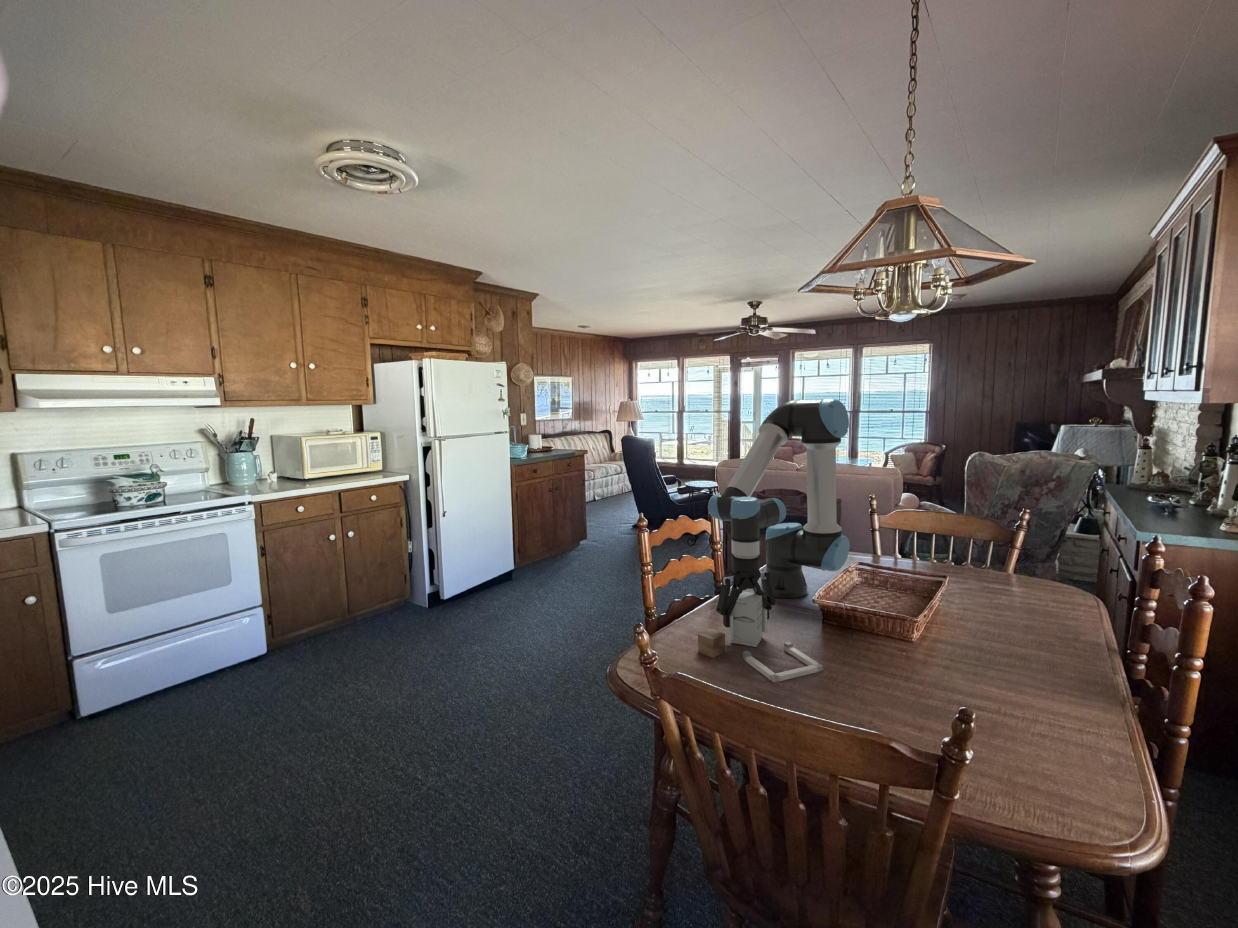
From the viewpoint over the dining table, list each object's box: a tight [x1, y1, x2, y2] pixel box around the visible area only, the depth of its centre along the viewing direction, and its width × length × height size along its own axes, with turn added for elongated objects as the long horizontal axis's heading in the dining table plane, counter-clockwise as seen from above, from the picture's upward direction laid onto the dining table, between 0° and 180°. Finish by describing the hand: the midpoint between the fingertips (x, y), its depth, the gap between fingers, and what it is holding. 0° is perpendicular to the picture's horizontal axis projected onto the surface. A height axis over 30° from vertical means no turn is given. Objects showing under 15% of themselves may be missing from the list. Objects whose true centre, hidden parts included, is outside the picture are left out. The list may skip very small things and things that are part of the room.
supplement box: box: [729, 591, 763, 648], centre depth 150 cm, size 7×7×13 cm
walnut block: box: [697, 628, 726, 659], centre depth 145 cm, size 5×5×5 cm
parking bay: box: [742, 641, 824, 684], centre depth 136 cm, size 14×13×2 cm
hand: (746, 634), depth 151 cm, fingers closed on supplement box, 10 cm apart
